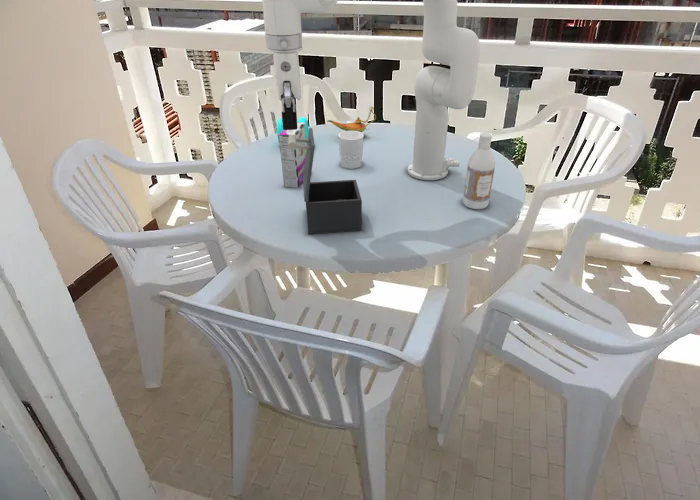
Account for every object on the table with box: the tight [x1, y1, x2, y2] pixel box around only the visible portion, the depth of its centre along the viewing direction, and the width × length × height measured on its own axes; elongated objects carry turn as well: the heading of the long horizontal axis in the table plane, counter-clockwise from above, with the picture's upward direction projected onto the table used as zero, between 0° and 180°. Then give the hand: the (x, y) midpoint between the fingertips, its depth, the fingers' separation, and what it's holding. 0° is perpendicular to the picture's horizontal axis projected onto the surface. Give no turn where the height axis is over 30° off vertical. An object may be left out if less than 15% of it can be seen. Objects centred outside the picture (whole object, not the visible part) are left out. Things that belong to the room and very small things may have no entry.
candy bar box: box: [277, 121, 307, 189], centre depth 142 cm, size 11×5×16 cm, turn 168°
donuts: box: [276, 116, 310, 144], centre depth 167 cm, size 10×10×10 cm
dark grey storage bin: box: [305, 179, 363, 235], centre depth 124 cm, size 14×12×9 cm
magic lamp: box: [326, 106, 377, 133], centre depth 173 cm, size 7×18×11 cm, turn 99°
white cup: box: [338, 130, 364, 170], centre depth 153 cm, size 8×8×10 cm
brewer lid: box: [288, 127, 316, 203], centre depth 116 cm, size 14×12×6 cm
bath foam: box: [462, 132, 496, 210], centre depth 128 cm, size 7×7×20 cm
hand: (290, 122), depth 110 cm, fingers open, 9 cm apart
